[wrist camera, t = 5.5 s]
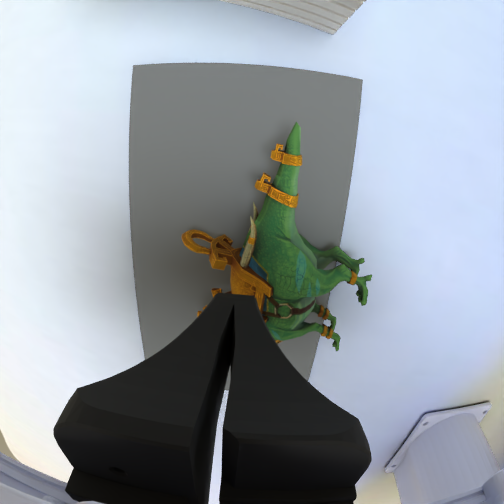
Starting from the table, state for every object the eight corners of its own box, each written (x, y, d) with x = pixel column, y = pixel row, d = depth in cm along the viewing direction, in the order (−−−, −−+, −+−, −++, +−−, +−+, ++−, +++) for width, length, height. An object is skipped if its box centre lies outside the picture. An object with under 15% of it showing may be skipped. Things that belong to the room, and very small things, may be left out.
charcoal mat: (303, 391, 19) (303, 394, 19) (149, 376, 19) (148, 379, 19) (360, 80, 12) (362, 79, 12) (135, 66, 12) (133, 65, 12)
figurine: (313, 355, 18) (175, 324, 18) (398, 153, 13) (214, 100, 12) (317, 395, 15) (160, 362, 15) (427, 169, 10) (197, 101, 10)
